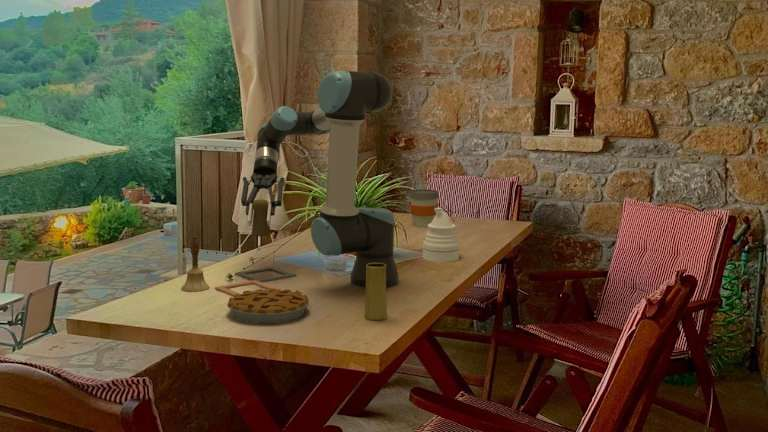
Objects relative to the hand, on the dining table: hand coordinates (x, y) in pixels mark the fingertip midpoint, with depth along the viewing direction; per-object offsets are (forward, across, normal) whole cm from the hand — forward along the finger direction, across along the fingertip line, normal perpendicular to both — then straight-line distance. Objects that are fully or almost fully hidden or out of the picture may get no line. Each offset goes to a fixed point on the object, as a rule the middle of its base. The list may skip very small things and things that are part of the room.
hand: (259, 222), depth 249 cm
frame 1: (+22, +2, -4) cm, 22 cm away
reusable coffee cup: (-56, -55, -83) cm, 114 cm away
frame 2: (+9, -1, -17) cm, 19 cm away
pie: (+38, -8, +12) cm, 41 cm away
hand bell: (+21, +18, -5) cm, 28 cm away
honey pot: (-11, -59, -38) cm, 71 cm away
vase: (+40, -37, +14) cm, 57 cm away
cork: (+1, 0, -6) cm, 6 cm away
